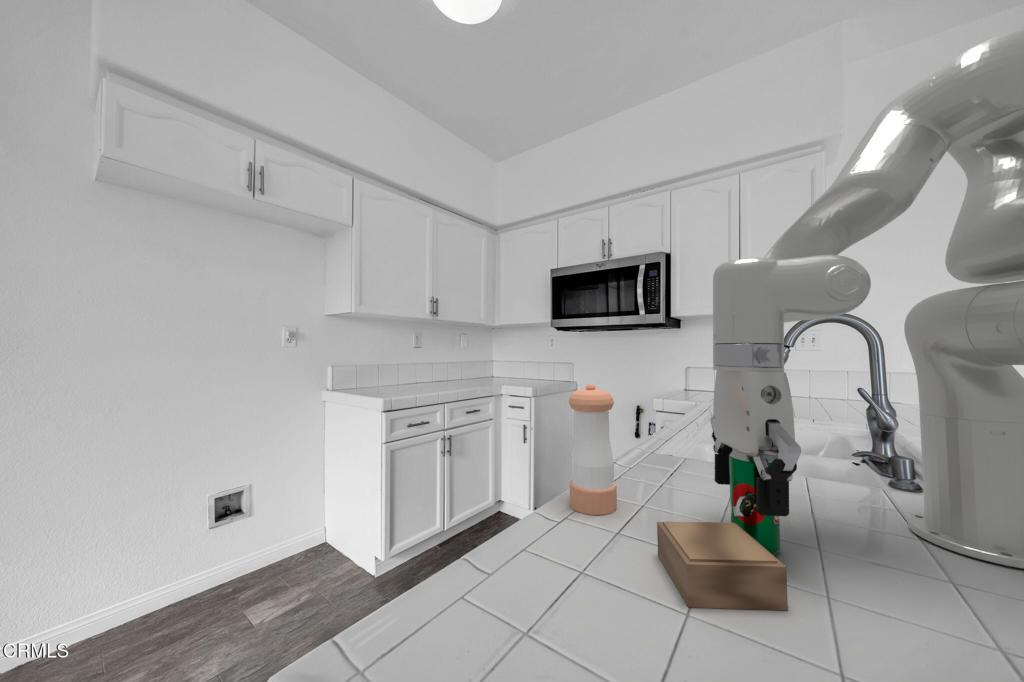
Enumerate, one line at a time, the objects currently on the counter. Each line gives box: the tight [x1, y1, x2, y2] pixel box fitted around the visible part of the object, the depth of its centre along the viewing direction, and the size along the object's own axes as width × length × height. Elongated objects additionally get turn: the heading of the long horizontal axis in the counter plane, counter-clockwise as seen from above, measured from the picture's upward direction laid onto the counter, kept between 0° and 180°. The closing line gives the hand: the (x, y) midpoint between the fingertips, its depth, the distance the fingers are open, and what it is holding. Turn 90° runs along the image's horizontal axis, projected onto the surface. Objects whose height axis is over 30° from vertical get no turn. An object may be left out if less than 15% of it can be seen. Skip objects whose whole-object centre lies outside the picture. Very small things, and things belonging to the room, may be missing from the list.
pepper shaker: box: [568, 383, 618, 516], centre depth 59 cm, size 7×7×19 cm
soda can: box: [729, 448, 782, 556], centre depth 46 cm, size 5×5×12 cm
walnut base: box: [656, 521, 789, 611], centre depth 40 cm, size 9×9×4 cm
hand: (747, 497), depth 46 cm, fingers open, 9 cm apart
